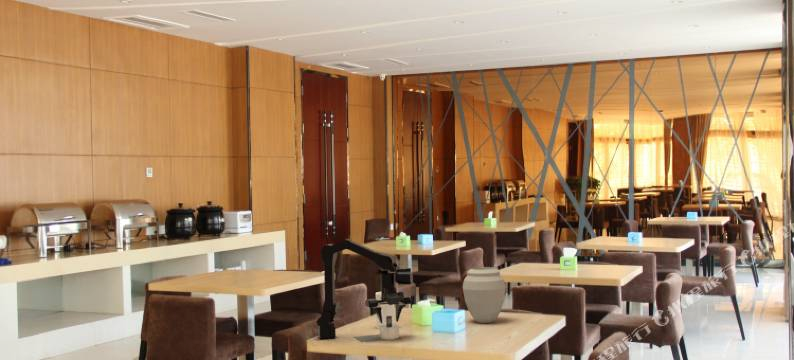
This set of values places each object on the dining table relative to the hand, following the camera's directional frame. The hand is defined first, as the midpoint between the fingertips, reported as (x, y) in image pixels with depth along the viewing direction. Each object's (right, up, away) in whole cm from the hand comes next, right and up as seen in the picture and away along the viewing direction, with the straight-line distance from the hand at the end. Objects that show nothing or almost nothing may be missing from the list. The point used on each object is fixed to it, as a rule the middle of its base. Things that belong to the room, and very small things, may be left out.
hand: (389, 322), depth 336 cm
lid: (0, -2, 0) cm, 2 cm away
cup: (-2, -7, +25) cm, 26 cm away
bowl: (0, -6, 0) cm, 6 cm away
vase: (+44, -6, +32) cm, 54 cm away
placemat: (-5, -7, +1) cm, 9 cm away
